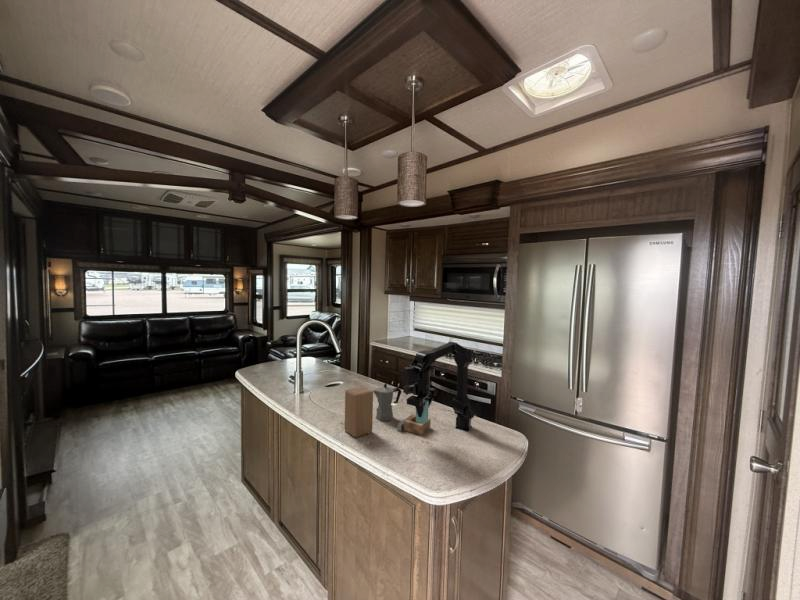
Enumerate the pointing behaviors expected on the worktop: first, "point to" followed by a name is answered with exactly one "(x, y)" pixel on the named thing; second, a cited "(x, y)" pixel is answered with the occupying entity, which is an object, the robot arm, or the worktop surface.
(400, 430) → the backstop wall
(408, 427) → the socket block
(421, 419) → the turquoise rectangular prism
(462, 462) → the worktop surface
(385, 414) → the coffeepot
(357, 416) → the block
